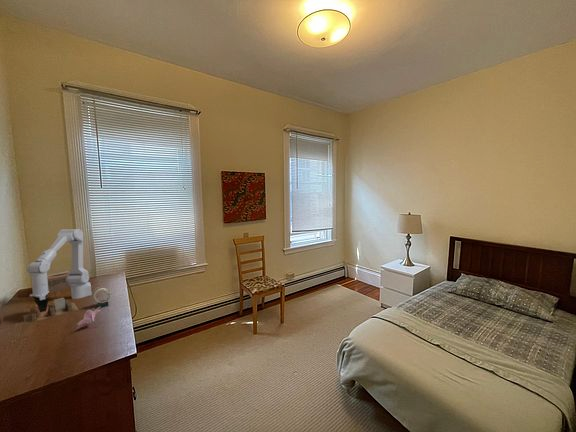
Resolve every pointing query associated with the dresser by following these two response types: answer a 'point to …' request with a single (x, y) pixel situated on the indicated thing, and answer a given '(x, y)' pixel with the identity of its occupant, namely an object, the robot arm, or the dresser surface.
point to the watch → (104, 302)
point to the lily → (89, 317)
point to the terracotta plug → (41, 312)
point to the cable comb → (49, 312)
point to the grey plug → (59, 304)
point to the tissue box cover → (57, 281)
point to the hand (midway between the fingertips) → (42, 309)
